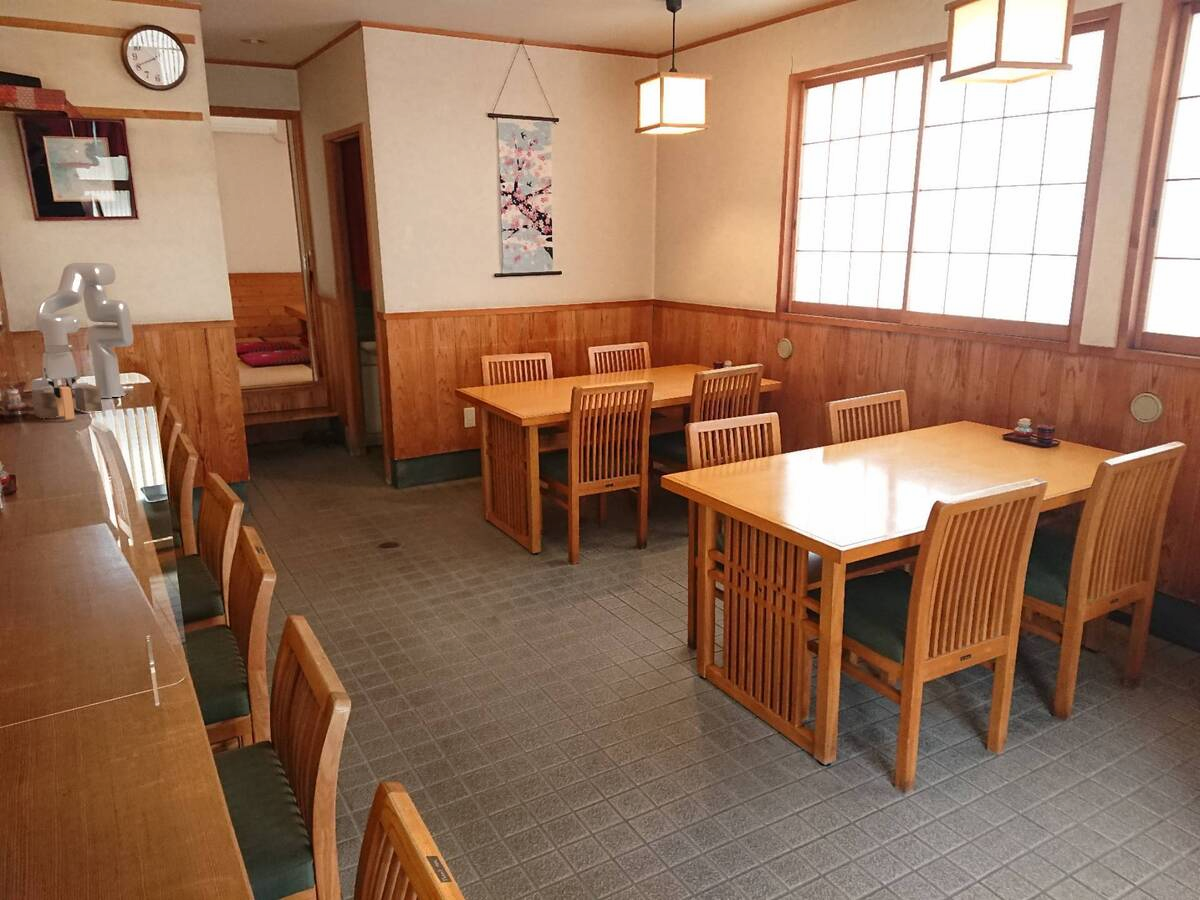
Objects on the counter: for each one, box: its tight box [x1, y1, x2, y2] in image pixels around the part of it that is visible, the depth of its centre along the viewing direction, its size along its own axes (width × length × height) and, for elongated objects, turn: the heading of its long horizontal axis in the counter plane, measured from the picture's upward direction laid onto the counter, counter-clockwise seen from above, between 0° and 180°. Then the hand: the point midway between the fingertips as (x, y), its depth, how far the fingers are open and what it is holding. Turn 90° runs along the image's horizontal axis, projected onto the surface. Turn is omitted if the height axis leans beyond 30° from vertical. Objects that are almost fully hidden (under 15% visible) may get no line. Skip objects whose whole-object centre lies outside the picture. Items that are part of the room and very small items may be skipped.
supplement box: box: [32, 377, 63, 390], centre depth 340 cm, size 7×7×13 cm
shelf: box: [30, 383, 103, 420], centre depth 333 cm, size 21×10×10 cm, turn 140°
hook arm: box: [42, 382, 90, 392], centre depth 332 cm, size 16×2×2 cm, turn 140°
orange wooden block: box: [55, 384, 76, 420], centre depth 322 cm, size 3×8×12 cm, turn 50°
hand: (63, 396), depth 321 cm, fingers closed on orange wooden block, 3 cm apart
